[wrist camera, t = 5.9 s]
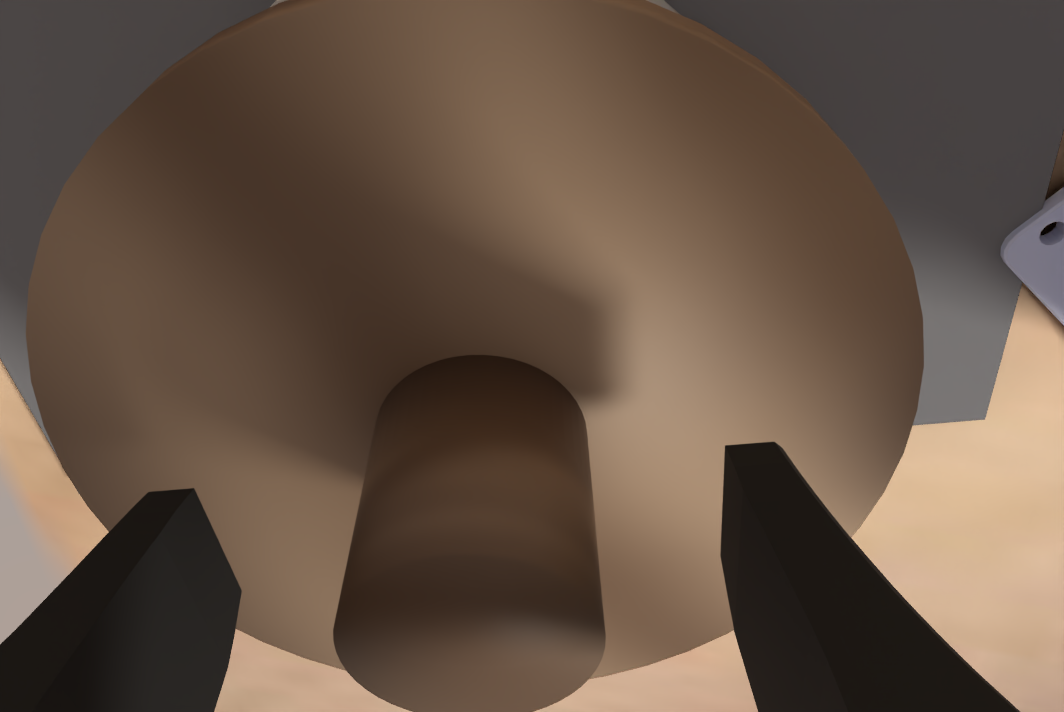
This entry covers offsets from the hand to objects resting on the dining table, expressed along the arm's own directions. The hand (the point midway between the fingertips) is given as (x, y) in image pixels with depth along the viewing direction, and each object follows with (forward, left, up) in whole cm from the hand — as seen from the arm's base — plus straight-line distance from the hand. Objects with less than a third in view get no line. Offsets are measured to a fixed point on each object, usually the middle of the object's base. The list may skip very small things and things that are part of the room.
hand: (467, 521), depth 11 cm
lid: (0, 0, -3) cm, 3 cm away
